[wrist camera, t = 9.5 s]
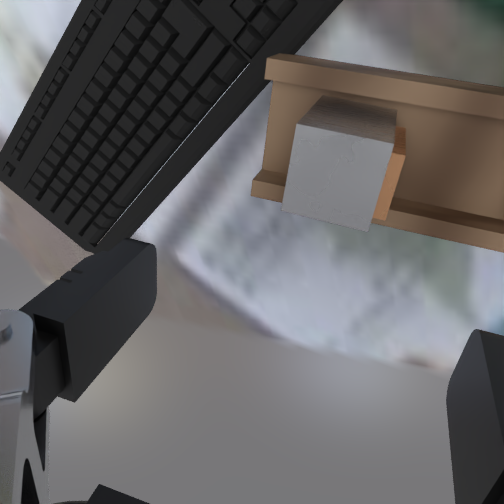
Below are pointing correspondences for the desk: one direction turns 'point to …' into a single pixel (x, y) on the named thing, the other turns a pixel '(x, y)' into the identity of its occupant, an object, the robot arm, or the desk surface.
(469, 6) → the desk surface
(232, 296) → the desk surface
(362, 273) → the desk surface
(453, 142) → the rail
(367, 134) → the gray metallic block
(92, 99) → the keyboard
